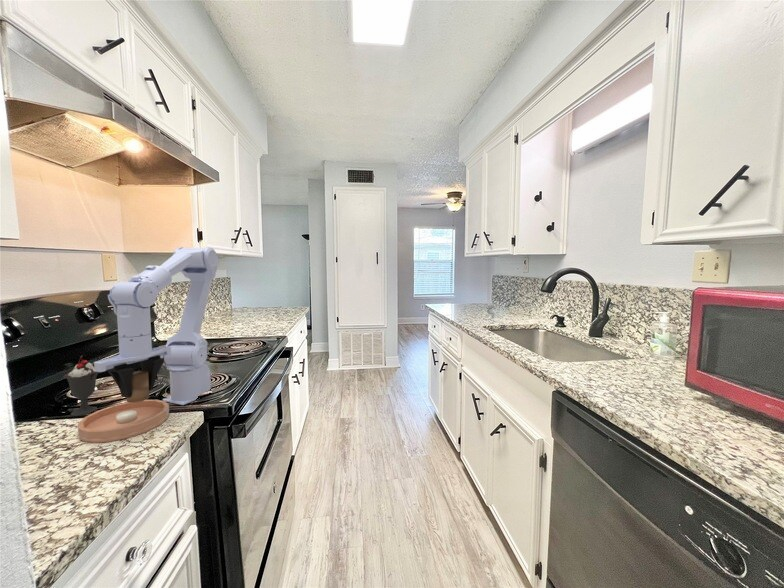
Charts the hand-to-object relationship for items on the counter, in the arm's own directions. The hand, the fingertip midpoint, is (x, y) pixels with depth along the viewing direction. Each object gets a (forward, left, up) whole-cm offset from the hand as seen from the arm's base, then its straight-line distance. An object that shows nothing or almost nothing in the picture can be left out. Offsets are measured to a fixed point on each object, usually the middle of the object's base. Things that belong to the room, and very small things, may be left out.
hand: (138, 392), depth 71 cm
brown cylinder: (0, 0, -1) cm, 1 cm away
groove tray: (0, -5, -8) cm, 10 cm away
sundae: (-1, -22, -9) cm, 23 cm away
